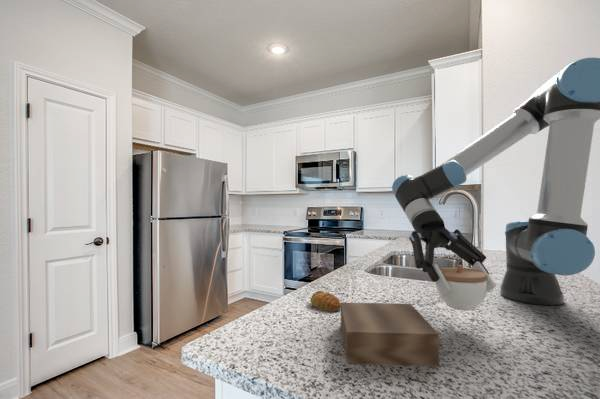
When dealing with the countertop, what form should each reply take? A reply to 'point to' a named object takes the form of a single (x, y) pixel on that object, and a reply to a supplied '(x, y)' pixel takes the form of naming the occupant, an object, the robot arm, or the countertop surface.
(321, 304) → the pastry
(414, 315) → the walnut box
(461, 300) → the lidded jar
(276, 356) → the countertop surface
